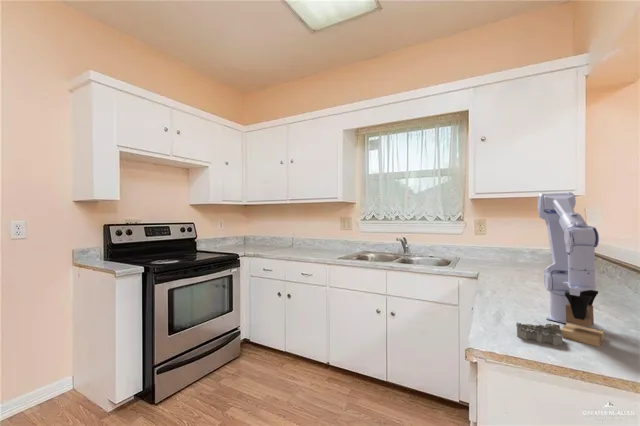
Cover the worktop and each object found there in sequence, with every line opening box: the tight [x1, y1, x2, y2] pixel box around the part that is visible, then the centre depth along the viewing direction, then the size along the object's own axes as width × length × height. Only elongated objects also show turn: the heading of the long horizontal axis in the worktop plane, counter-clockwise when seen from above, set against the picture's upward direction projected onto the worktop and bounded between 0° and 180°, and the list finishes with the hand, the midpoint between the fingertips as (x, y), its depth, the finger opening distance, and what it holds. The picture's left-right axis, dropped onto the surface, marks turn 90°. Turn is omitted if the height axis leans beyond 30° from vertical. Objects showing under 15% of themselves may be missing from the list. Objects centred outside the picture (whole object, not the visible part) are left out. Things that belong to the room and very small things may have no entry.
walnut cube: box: [566, 303, 595, 328], centre depth 83 cm, size 5×5×5 cm
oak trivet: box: [560, 323, 605, 347], centre depth 82 cm, size 8×8×2 cm
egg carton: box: [515, 322, 564, 346], centre depth 82 cm, size 11×8×4 cm
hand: (581, 316), depth 82 cm, fingers closed on walnut cube, 5 cm apart
